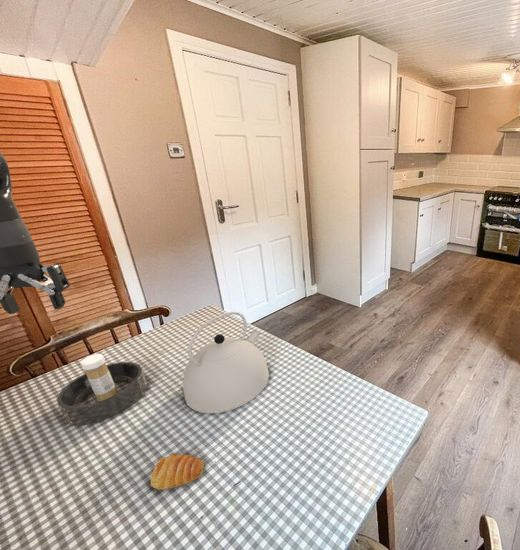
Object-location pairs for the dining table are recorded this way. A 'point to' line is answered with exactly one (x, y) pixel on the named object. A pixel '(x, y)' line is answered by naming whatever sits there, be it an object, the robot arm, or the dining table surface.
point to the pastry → (176, 471)
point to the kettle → (224, 372)
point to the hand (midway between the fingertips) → (37, 310)
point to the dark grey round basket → (109, 407)
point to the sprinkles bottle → (99, 376)
